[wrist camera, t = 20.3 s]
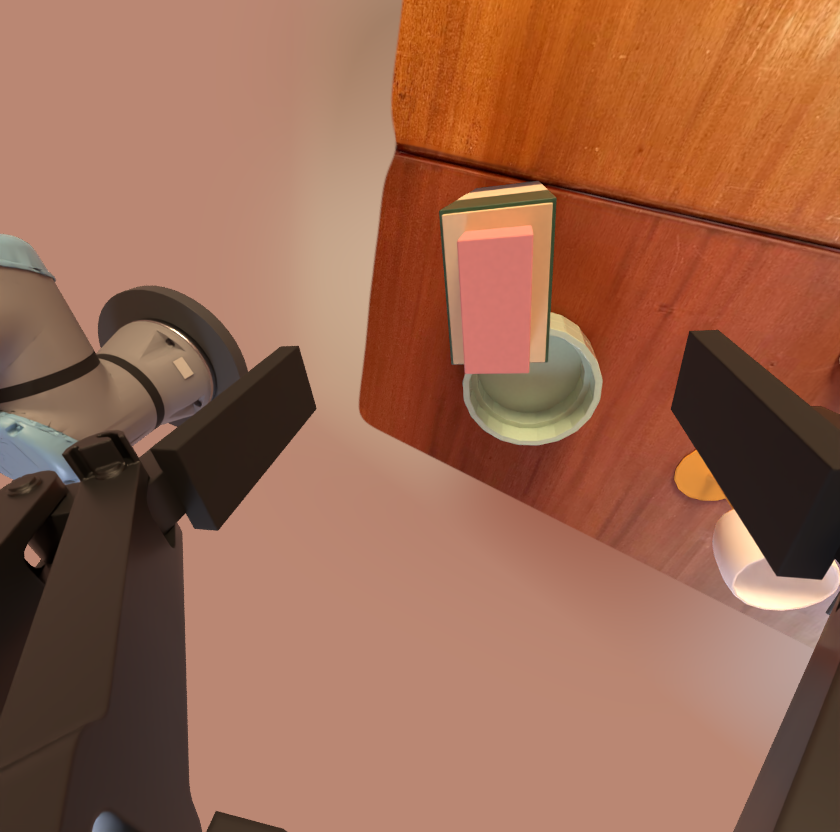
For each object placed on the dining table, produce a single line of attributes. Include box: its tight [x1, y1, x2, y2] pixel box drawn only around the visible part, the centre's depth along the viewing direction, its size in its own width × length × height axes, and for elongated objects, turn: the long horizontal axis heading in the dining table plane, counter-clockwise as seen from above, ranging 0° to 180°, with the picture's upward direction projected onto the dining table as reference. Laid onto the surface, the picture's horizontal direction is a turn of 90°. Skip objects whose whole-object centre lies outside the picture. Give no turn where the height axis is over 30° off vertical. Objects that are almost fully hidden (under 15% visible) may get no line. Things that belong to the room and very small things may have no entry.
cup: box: [674, 450, 840, 611], centre depth 44 cm, size 9×9×16 cm
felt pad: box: [442, 203, 553, 364], centre depth 23 cm, size 6×9×1 cm, turn 7°
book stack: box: [439, 181, 557, 364], centre depth 32 cm, size 6×9×22 cm, turn 7°
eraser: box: [457, 225, 534, 374], centre depth 22 cm, size 7×4×3 cm, turn 6°
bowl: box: [463, 313, 602, 445], centre depth 46 cm, size 14×14×6 cm
